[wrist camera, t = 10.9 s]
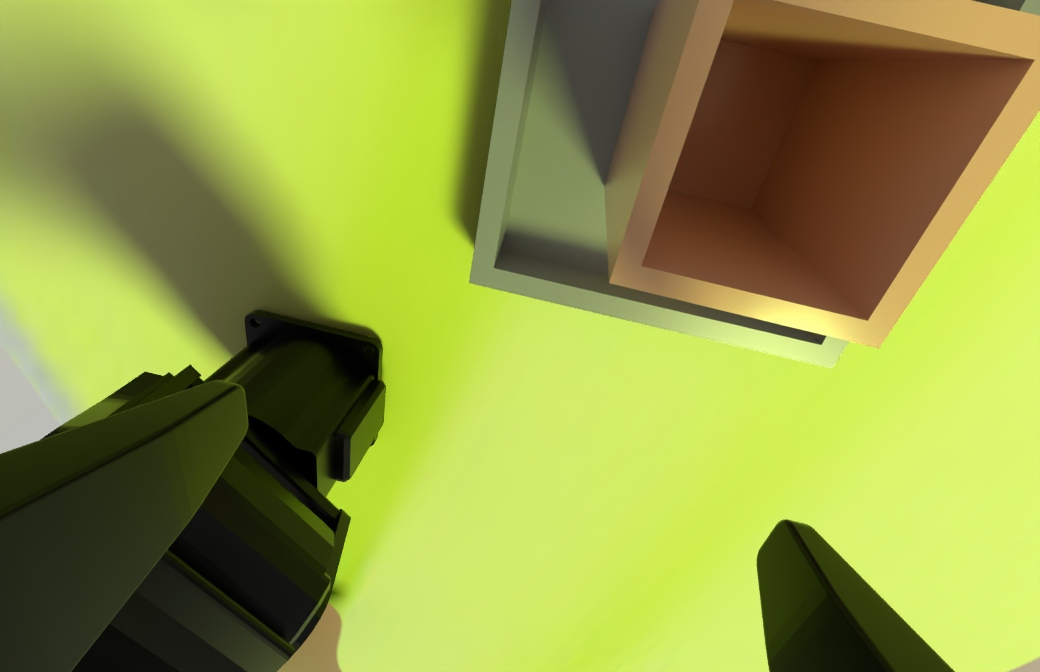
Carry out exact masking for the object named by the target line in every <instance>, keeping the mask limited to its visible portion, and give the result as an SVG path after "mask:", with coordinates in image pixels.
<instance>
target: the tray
mask: <svg viewBox="0 0 1040 672" xmlns="http://www.w3.org/2000/svg"><path fill="white" fill-rule="evenodd" d="M660 1H661V0H512V3H511V9H510V16H509V23H508V29H507V36H506V42H505V49H504V56H503V62H502V69H501V75H500V82H499V89H498V95H497V102H496V108H495V115H494V122H493V128H492V135H491V141H490V148H489V155H488V161H487V168H486V175H485V181H484V188H483V194H482V201H481V208H480V214H479V221H478V227H477V234H476V241H475V247H474V254H473V260H472V267H471V274H470V280H469V283H472V284H476V285H480V286H484V287H489V288H493V289H497V290H501V291H506V292H510V293H514V294H518V295H522V296H527V297H531V298H535V299H539V300H544V301H548V302H552V303H556V304H561V305H565V306H569V307H573V308H577V309H582V310H586V311H590V312H594V313H599V314H603V315H607V316H611V317H616V318H620V319H624V320H628V321H632V322H637V323H641V324H645V325H649V326H654V327H658V328H662V329H666V330H670V331H675V332H679V333H683V334H687V335H692V336H696V337H700V338H704V339H709V340H713V341H717V342H721V343H725V344H730V345H734V346H738V347H742V348H747V349H751V350H755V351H759V352H764V353H768V354H772V355H776V356H780V357H785V358H789V359H793V360H797V361H802V362H806V363H810V364H814V365H819V366H823V367H827V368H831V369H832V368H833V367H834V365H835V364H836V362H837V360H838V359H839V357H840V356H841V354H842V352H843V351H844V349H845V348H846V346H847V344H848V343H849V341H846V340H842V339H838V338H834V337H830V336H825V335H821V334H817V333H813V332H809V331H805V330H801V329H797V328H792V327H788V326H784V325H780V324H776V323H772V322H768V321H764V320H759V319H755V318H751V317H747V316H743V315H739V314H735V313H731V312H726V311H722V310H718V309H714V308H710V307H706V306H702V305H698V304H693V303H689V302H685V301H681V300H677V299H673V298H669V297H665V296H660V295H656V294H652V293H648V292H644V291H640V290H636V289H632V288H627V287H623V286H619V285H615V284H611V283H609V272H608V251H607V231H606V210H605V190H604V186H605V182H606V179H607V175H608V172H609V168H610V165H611V161H612V158H613V154H614V151H615V147H616V143H617V140H618V136H619V133H620V129H621V126H622V122H623V119H624V115H625V112H626V108H627V105H628V101H629V98H630V94H631V90H632V87H633V83H634V80H635V76H636V73H637V69H638V66H639V62H640V59H641V55H642V52H643V48H644V44H645V41H646V37H647V34H648V30H649V27H650V23H651V20H652V16H653V13H654V9H655V6H656V5H657V4H658V3H659V2H660ZM972 1H977V2H981V3H986V4H990V5H994V6H999V7H1003V8H1008V9H1012V10H1017V11H1021V12H1026V13H1030V14H1034V15H1039V16H1040V0H972Z"/></svg>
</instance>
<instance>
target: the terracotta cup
mask: <svg viewBox="0 0 1040 672" xmlns="http://www.w3.org/2000/svg"><path fill="white" fill-rule="evenodd" d="M1039 111H1040V16H1039V15H1034V14H1030V13H1026V12H1021V11H1017V10H1012V9H1008V8H1003V7H999V6H994V5H990V4H986V3H981V2H977V1H972V0H661V1H660V2H659V3H658V4H657V5H656V6H655V9H654V13H653V16H652V20H651V23H650V27H649V30H648V34H647V37H646V41H645V44H644V48H643V52H642V55H641V59H640V62H639V66H638V69H637V73H636V76H635V80H634V83H633V87H632V90H631V94H630V98H629V101H628V105H627V108H626V112H625V115H624V119H623V122H622V126H621V129H620V133H619V136H618V140H617V143H616V147H615V151H614V154H613V158H612V161H611V165H610V168H609V172H608V175H607V179H606V182H605V186H604V190H605V210H606V231H607V251H608V272H609V283H611V284H615V285H619V286H623V287H627V288H632V289H636V290H640V291H644V292H648V293H652V294H656V295H660V296H665V297H669V298H673V299H677V300H681V301H685V302H689V303H693V304H698V305H702V306H706V307H710V308H714V309H718V310H722V311H726V312H731V313H735V314H739V315H743V316H747V317H751V318H755V319H759V320H764V321H768V322H772V323H776V324H780V325H784V326H788V327H792V328H797V329H801V330H805V331H809V332H813V333H817V334H821V335H825V336H830V337H834V338H838V339H842V340H846V341H850V342H854V343H858V344H863V345H867V346H871V347H875V348H879V347H880V346H881V344H882V343H883V341H884V340H885V338H886V337H887V335H888V334H889V333H890V331H891V330H892V328H893V327H894V325H895V324H896V322H897V321H898V319H899V318H900V316H901V315H902V313H903V312H904V310H905V309H906V307H907V306H908V304H909V303H910V301H911V300H912V298H913V297H914V296H915V294H916V293H917V291H918V290H919V288H920V287H921V285H922V284H923V282H924V281H925V279H926V278H927V276H928V275H929V273H930V272H931V270H932V269H933V267H934V266H935V264H936V263H937V261H938V260H939V259H940V257H941V256H942V254H943V253H944V251H945V250H946V248H947V247H948V245H949V244H950V242H951V241H952V239H953V238H954V236H955V235H956V233H957V232H958V230H959V229H960V227H961V226H962V224H963V223H964V222H965V220H966V219H967V217H968V216H969V214H970V213H971V211H972V210H973V208H974V207H975V205H976V204H977V202H978V201H979V199H980V198H981V196H982V195H983V193H984V192H985V190H986V189H987V187H988V186H989V185H990V183H991V182H992V180H993V179H994V177H995V176H996V174H997V173H998V171H999V170H1000V168H1001V167H1002V165H1003V164H1004V162H1005V161H1006V159H1007V158H1008V156H1009V155H1010V153H1011V152H1012V150H1013V149H1014V148H1015V146H1016V145H1017V143H1018V142H1019V140H1020V139H1021V137H1022V136H1023V134H1024V133H1025V131H1026V130H1027V128H1028V127H1029V125H1030V124H1031V122H1032V121H1033V119H1034V118H1035V116H1036V115H1037V113H1038V112H1039Z"/></svg>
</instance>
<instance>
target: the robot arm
mask: <svg viewBox="0 0 1040 672" xmlns="http://www.w3.org/2000/svg"><path fill="white" fill-rule="evenodd" d="M255 319H256V320H258V321H259V322H260V324H259V323H257V322H256V320H255ZM245 328H246V338H247V347H245V348H244V349H243V350H242V351H240V352H239V353H238V354H237V355H235V356H234V357H233V358H232V359H230V360H229V361H228V362H227V363H225V364H224V365H223V366H222V367H220V368H219V369H218V370H217V371H216V372H214V373H213V374H212V375H211V376H209V377H208V378H207V379H206V380H204V381H203V380H202V379H201V378H200V376H201V374H199V373H198V372H197V371H196V370H195V369H194V368H193V367H192V366H191V365H189V366H188V367H186V368H185V369H184V370H182V371H181V372H179V373H178V374H177V375H175V376H173V375H172V374H171V373H170V372H169V373H167V374H166V375H165V376H161V375H157V374H153V373H149V372H144V373H142V374H141V375H139V376H138V377H137V378H135V379H134V380H132V381H131V382H129V383H128V384H126V385H125V386H123V387H122V388H120V389H119V390H117V391H116V392H114V393H113V394H111V395H110V396H108V397H107V398H105V399H104V400H102V401H100V402H99V403H97V404H96V405H94V406H92V407H91V408H89V409H87V410H86V411H84V412H83V413H81V414H79V415H78V416H76V417H74V418H73V419H71V420H69V421H68V422H66V423H65V424H63V425H61V426H60V427H58V428H57V429H55V430H54V431H52V432H51V433H50V434H48V435H46V436H45V437H44V438H42V439H41V440H39V441H36V442H33V443H30V444H28V445H25V446H22V447H19V448H16V449H13V450H10V451H7V452H4V453H2V454H0V672H276V671H278V670H279V668H281V667H282V666H283V664H285V663H286V662H287V661H288V660H289V659H290V658H291V656H292V655H293V654H294V653H295V652H296V651H297V650H298V649H299V648H300V646H301V645H302V644H303V643H304V641H305V640H306V639H307V638H308V636H309V635H310V634H311V632H312V631H313V629H314V628H315V626H316V625H317V623H318V621H319V620H320V618H321V616H322V614H323V612H324V610H325V608H326V606H327V604H328V601H329V598H330V595H331V592H332V588H333V584H334V581H335V577H336V573H337V569H338V565H339V562H340V558H341V554H342V550H343V546H344V542H345V539H346V535H347V531H348V527H349V523H350V520H351V517H350V516H349V515H348V514H346V513H345V512H344V511H343V510H342V509H338V508H337V507H335V506H334V505H333V504H332V503H331V502H330V501H329V500H328V499H327V498H326V496H327V495H328V493H329V491H330V490H331V488H332V487H333V485H334V483H335V482H336V480H337V481H341V482H346V481H347V480H349V479H350V478H351V477H352V475H353V474H354V472H355V470H356V469H357V467H358V465H359V464H360V462H361V460H362V459H363V457H364V455H365V454H366V452H367V450H368V449H369V447H370V446H372V445H373V444H374V443H375V441H376V440H377V437H378V432H379V430H380V428H381V427H382V425H383V422H384V408H385V392H386V386H385V384H384V382H383V381H381V371H382V354H383V348H382V344H381V343H380V342H379V341H378V340H377V339H375V338H372V337H368V336H364V335H359V334H355V333H351V332H347V331H343V330H339V329H335V328H330V327H326V326H322V325H318V324H314V323H310V322H305V321H301V320H297V319H293V318H289V317H285V316H281V315H276V314H272V313H268V312H264V311H260V310H255V311H252V312H251V313H249V314H248V315H247V316H246V317H245ZM367 346H370V347H372V348H373V349H374V351H371V350H369V349H368V347H367ZM757 573H758V582H759V591H760V600H761V609H762V618H763V627H764V636H765V645H766V652H767V659H768V666H769V671H770V672H955V671H954V670H953V669H952V668H951V667H950V666H949V665H948V664H947V663H946V662H945V661H944V660H943V659H942V658H941V657H940V656H939V655H938V654H937V653H936V652H935V651H934V650H933V649H932V648H931V647H930V646H929V645H928V644H927V643H926V642H925V641H924V640H923V639H922V638H921V637H920V636H919V635H918V634H917V633H916V632H915V631H914V630H913V629H912V628H911V627H910V626H909V625H908V624H907V623H906V622H905V621H904V620H903V619H902V618H901V617H900V616H899V615H898V614H897V613H896V612H895V611H894V610H893V609H892V608H891V607H890V606H889V605H888V603H887V602H886V601H885V600H884V599H883V598H882V597H881V596H880V595H879V594H878V593H877V592H876V591H875V590H874V589H873V588H872V587H871V586H870V585H869V584H868V583H867V582H866V581H865V580H864V579H863V578H862V577H861V576H860V575H859V574H858V573H857V572H856V571H855V570H854V569H853V568H852V567H851V566H850V565H849V564H848V563H847V562H846V561H845V560H844V559H843V558H842V557H841V556H840V555H839V554H838V553H837V552H836V551H835V550H834V549H833V548H832V547H831V546H830V545H829V544H828V543H827V542H826V541H825V540H824V539H823V538H822V537H821V536H820V535H819V534H818V533H817V532H816V531H815V530H814V529H813V528H812V527H811V526H809V525H807V524H804V523H799V522H795V521H791V520H787V519H786V520H781V521H780V522H778V523H777V525H776V526H775V528H774V529H773V531H772V532H771V533H770V535H769V536H768V538H767V539H766V541H765V542H764V544H763V545H762V546H761V548H760V550H759V552H758V555H757Z"/></svg>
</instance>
